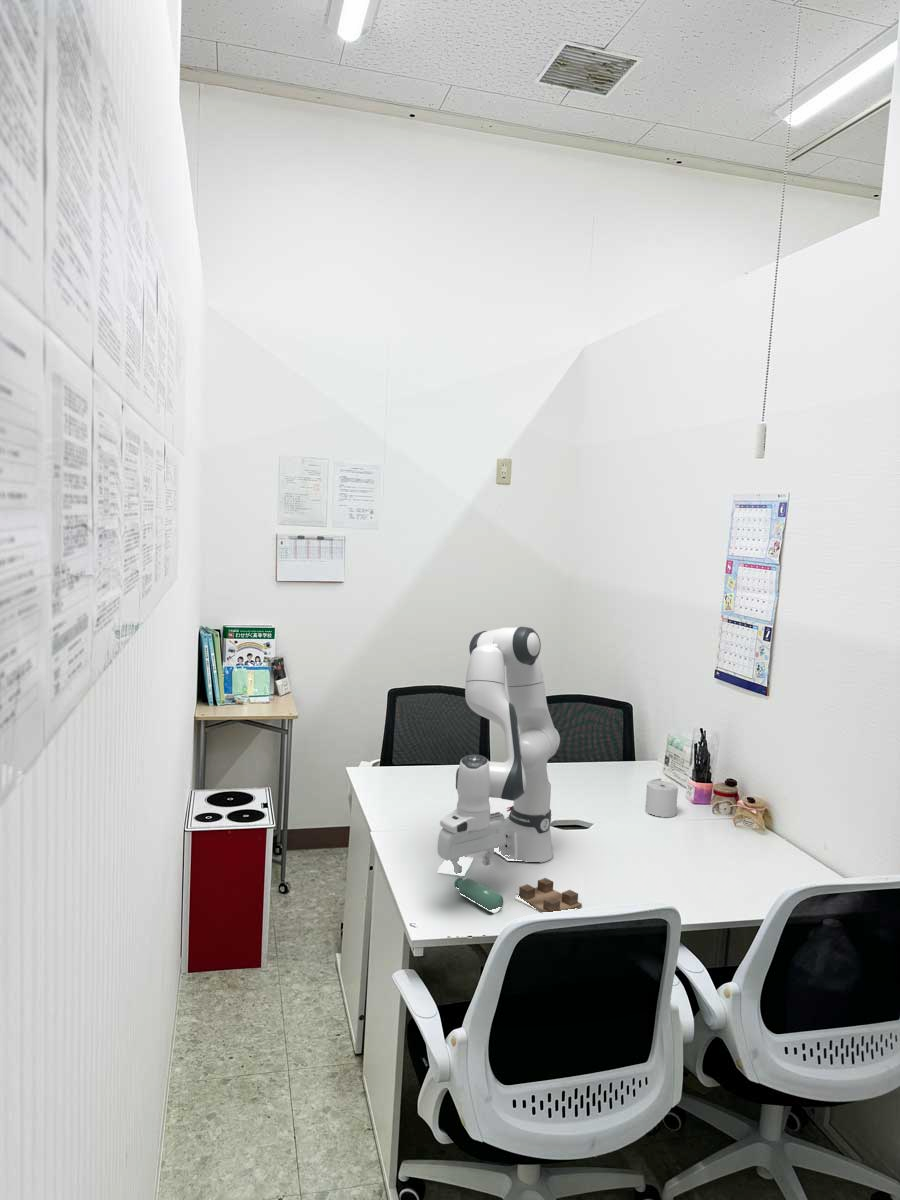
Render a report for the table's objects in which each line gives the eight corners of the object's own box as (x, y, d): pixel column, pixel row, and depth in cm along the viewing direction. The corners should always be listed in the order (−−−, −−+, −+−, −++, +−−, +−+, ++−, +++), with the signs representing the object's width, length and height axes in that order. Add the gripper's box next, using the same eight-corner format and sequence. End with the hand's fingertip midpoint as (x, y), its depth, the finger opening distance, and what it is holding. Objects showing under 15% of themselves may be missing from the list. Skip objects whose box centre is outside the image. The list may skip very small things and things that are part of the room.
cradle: (514, 898, 225) (515, 886, 225) (543, 888, 232) (544, 876, 232) (552, 918, 215) (553, 905, 214) (581, 907, 222) (582, 894, 221)
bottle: (503, 909, 219) (503, 891, 218) (489, 916, 216) (489, 898, 215) (465, 888, 230) (465, 871, 230) (451, 894, 227) (451, 877, 226)
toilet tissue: (658, 819, 289) (659, 791, 288) (636, 808, 300) (638, 780, 299) (682, 816, 294) (684, 788, 293) (660, 804, 305) (662, 778, 304)
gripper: (496, 807, 230) (495, 856, 231) (434, 821, 218) (433, 872, 219) (511, 814, 224) (510, 864, 226) (448, 828, 213) (447, 881, 214)
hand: (472, 868), depth 222 cm, fingers open, 8 cm apart
